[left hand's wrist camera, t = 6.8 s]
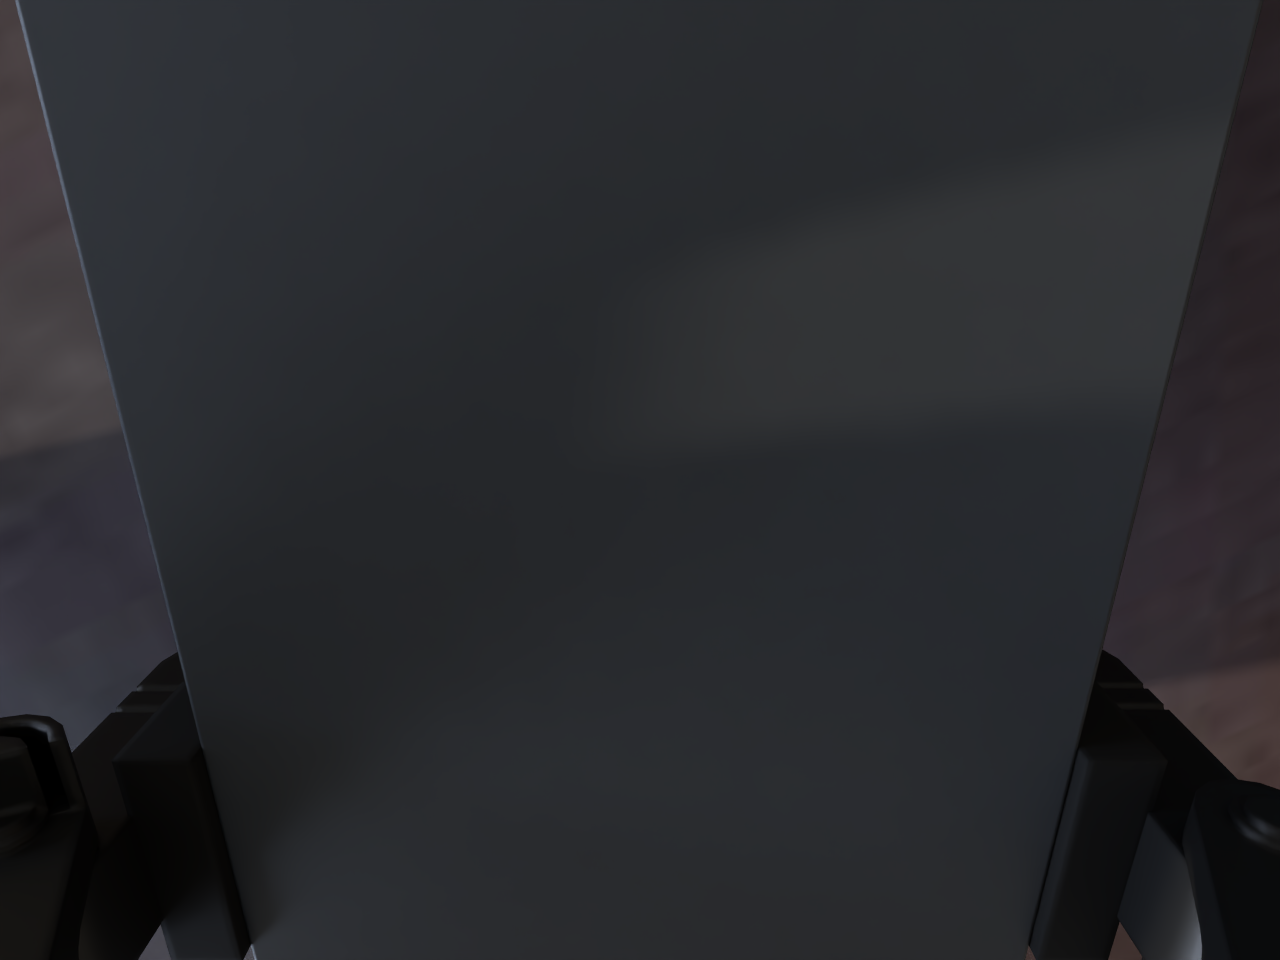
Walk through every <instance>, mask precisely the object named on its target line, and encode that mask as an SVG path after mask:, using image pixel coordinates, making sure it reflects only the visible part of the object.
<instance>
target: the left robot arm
mask: <svg viewBox="0 0 1280 960" xmlns="http://www.w3.org/2000/svg"><path fill="white" fill-rule="evenodd" d="M1163 705H1164V704H1163V703H1162V702H1161V701H1160V700H1159V699H1158V698H1157V697H1156V696H1155V695H1154V694H1153V693H1152V692H1151V691H1150V690H1149V689H1144V688H1143V683H1142V682H1141V681H1140V680H1139V679H1138V678H1137V677H1136V676H1135V675H1134V674H1133V673H1132V672H1131V671H1130V670H1129V669H1128V668H1127V667H1126V666H1125V665H1124V664H1123V663H1122V662H1121V661H1120V660H1119V659H1118V658H1116V657H1114V656H1113V655H1111V654H1109V653H1108V652H1106V651H1104V650H1102V651H1101V655H1100V660H1099V664H1098V668H1097V672H1096V676H1095V680H1094V684H1093V688H1092V692H1091V696H1090V700H1089V704H1088V708H1087V712H1086V716H1085V720H1084V724H1083V728H1082V732H1081V736H1080V740H1079V744H1078V748H1077V752H1076V756H1075V760H1074V764H1073V768H1072V772H1071V776H1070V780H1069V784H1068V788H1067V792H1066V796H1065V801H1064V805H1063V809H1062V813H1061V817H1060V821H1059V825H1058V829H1057V833H1056V837H1055V841H1054V845H1053V849H1052V853H1051V857H1050V861H1049V865H1048V869H1047V873H1046V877H1045V881H1044V885H1043V889H1042V893H1041V897H1040V901H1039V905H1038V909H1037V913H1036V917H1035V921H1034V925H1033V929H1032V933H1031V937H1030V941H1029V947H1030V949H1031V950H1032V952H1033V954H1034V956H1035V958H1036V960H1108V958H1109V955H1110V951H1111V948H1112V945H1113V941H1114V938H1115V935H1116V932H1117V928H1118V925H1119V922H1120V923H1121V924H1122V926H1123V927H1124V929H1125V930H1126V932H1127V933H1128V935H1129V937H1130V938H1131V940H1132V941H1133V943H1134V944H1135V946H1136V947H1137V949H1138V950H1139V952H1140V954H1141V955H1142V960H1280V790H1279V789H1276V788H1273V787H1270V786H1267V785H1264V784H1261V783H1257V782H1250V781H1244V780H1238V779H1237V778H1236V777H1235V776H1234V775H1233V774H1232V773H1231V772H1230V771H1229V770H1228V769H1227V768H1226V767H1225V766H1224V765H1223V764H1222V763H1221V762H1220V761H1219V760H1218V759H1217V758H1216V757H1215V756H1214V755H1213V754H1212V753H1211V752H1210V751H1209V750H1208V749H1207V748H1206V747H1205V746H1204V745H1203V744H1202V743H1201V742H1200V741H1199V740H1198V739H1197V738H1196V737H1195V736H1194V735H1193V734H1192V733H1191V732H1190V731H1189V730H1188V729H1187V728H1186V727H1185V726H1184V725H1183V724H1182V723H1181V722H1180V721H1179V720H1178V719H1177V718H1176V717H1175V716H1174V715H1173V714H1172V713H1171V712H1170V710H1164V707H1163ZM160 924H161V927H162V930H163V934H164V937H165V940H166V944H167V947H168V950H169V954H170V957H171V960H243V959H244V957H245V955H246V953H247V951H248V949H249V947H250V945H251V943H250V939H249V935H248V931H247V927H246V923H245V919H244V915H243V911H242V907H241V903H240V899H239V895H238V891H237V887H236V883H235V879H234V875H233V871H232V867H231V863H230V859H229V855H228V851H227V847H226V843H225V839H224V835H223V831H222V827H221V823H220V819H219V815H218V811H217V807H216V803H215V799H214V795H213V791H212V787H211V783H210V779H209V775H208V771H207V767H206V763H205V759H204V755H203V751H202V747H201V743H200V739H199V735H198V731H197V727H196V723H195V719H194V715H193V711H192V707H191V703H190V699H189V695H188V691H187V687H186V683H185V679H184V675H183V671H182V667H181V663H180V659H179V655H178V652H177V653H175V654H174V655H172V656H170V657H169V658H167V659H165V660H164V661H162V662H161V663H160V664H159V665H158V666H157V667H156V668H155V669H154V670H153V671H152V672H151V673H150V674H149V675H148V676H147V677H146V678H145V679H144V680H143V681H142V682H141V683H140V684H139V685H138V686H137V691H136V692H131V693H130V694H129V695H128V696H127V697H126V698H125V699H124V700H123V701H122V702H121V703H120V704H119V705H118V706H117V711H116V713H111V714H110V715H109V716H108V717H107V718H106V719H105V720H104V721H103V722H102V723H101V724H100V725H99V726H98V727H97V728H96V729H95V730H94V731H93V732H92V733H91V734H90V735H89V736H88V737H87V738H86V739H85V740H84V741H83V742H82V743H81V744H80V745H79V746H78V747H77V748H76V749H75V750H74V751H73V752H72V753H71V750H70V747H69V743H68V740H67V737H66V734H65V731H64V728H63V725H62V724H60V723H58V722H57V721H55V720H54V719H52V718H51V717H48V716H39V715H29V714H25V715H18V716H11V717H3V718H0V960H138V959H139V957H140V955H141V954H142V952H143V951H144V949H145V948H146V946H147V945H148V943H149V941H150V940H151V938H152V937H153V935H154V934H155V932H156V930H157V929H158V927H159V926H160Z"/></svg>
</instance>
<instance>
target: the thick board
mask: <svg viewBox="0 0 1280 960" xmlns="http://www.w3.org/2000/svg"><path fill="white" fill-rule="evenodd" d="M15 2H16V6H17V10H18V14H19V18H20V22H21V26H22V30H23V34H24V38H25V42H26V46H27V50H28V54H29V58H30V62H31V66H32V70H33V74H34V78H35V82H36V86H37V90H38V94H39V98H40V102H41V106H42V110H43V114H44V118H45V122H46V126H47V130H48V134H49V138H50V142H51V146H52V150H53V154H54V158H55V162H56V166H57V170H58V174H59V178H60V182H61V186H62V190H63V194H64V198H65V202H66V206H67V210H68V214H69V218H70V222H71V226H72V230H73V234H74V238H75V242H76V246H77V250H78V254H79V258H80V262H81V266H82V270H83V274H84V278H85V282H86V286H87V290H88V294H89V298H90V302H91V306H92V310H93V314H94V318H95V322H96V326H97V330H98V334H99V338H100V342H101V346H102V350H103V354H104V358H105V362H106V366H107V370H108V374H109V378H110V382H111V386H112V390H113V394H114V398H115V402H116V406H117V410H118V414H119V418H120V422H121V426H122V430H123V434H124V438H125V442H126V446H127V450H128V455H129V459H130V463H131V467H132V471H133V475H134V479H135V483H136V487H137V491H138V495H139V499H140V503H141V507H142V511H143V515H144V519H145V523H146V527H147V531H148V535H149V539H150V543H151V547H152V551H153V555H154V559H155V563H156V567H157V571H158V575H159V579H160V583H161V587H162V591H163V595H164V599H165V603H166V607H167V611H168V615H169V619H170V623H171V627H172V631H173V635H174V639H175V643H176V647H177V651H178V655H179V659H180V663H181V667H182V671H183V675H184V679H185V683H186V687H187V691H188V695H189V699H190V703H191V707H192V711H193V715H194V719H195V723H196V727H197V731H198V735H199V739H200V743H201V747H202V751H203V755H204V759H205V763H206V767H207V771H208V775H209V779H210V783H211V787H212V791H213V795H214V799H215V803H216V807H217V811H218V815H219V819H220V823H221V827H222V831H223V835H224V839H225V843H226V847H227V851H228V855H229V859H230V863H231V867H232V871H233V875H234V879H235V883H236V887H237V891H238V895H239V899H240V903H241V907H242V911H243V915H244V919H245V923H246V927H247V931H248V935H249V939H250V943H251V947H252V951H253V955H254V959H255V960H1025V958H1026V954H1027V950H1028V946H1029V941H1030V937H1031V933H1032V929H1033V925H1034V921H1035V917H1036V913H1037V909H1038V905H1039V901H1040V897H1041V893H1042V889H1043V885H1044V881H1045V877H1046V873H1047V869H1048V865H1049V861H1050V857H1051V853H1052V849H1053V845H1054V841H1055V837H1056V833H1057V829H1058V825H1059V821H1060V817H1061V813H1062V809H1063V805H1064V801H1065V796H1066V792H1067V788H1068V784H1069V780H1070V776H1071V772H1072V768H1073V764H1074V760H1075V756H1076V752H1077V748H1078V744H1079V740H1080V736H1081V732H1082V728H1083V724H1084V720H1085V716H1086V712H1087V708H1088V704H1089V700H1090V696H1091V692H1092V688H1093V684H1094V680H1095V676H1096V672H1097V668H1098V664H1099V660H1100V655H1101V651H1102V647H1103V643H1104V639H1105V635H1106V631H1107V627H1108V623H1109V619H1110V615H1111V611H1112V607H1113V603H1114V599H1115V595H1116V591H1117V587H1118V583H1119V579H1120V575H1121V571H1122V567H1123V563H1124V559H1125V555H1126V551H1127V547H1128V543H1129V539H1130V535H1131V531H1132V527H1133V523H1134V519H1135V515H1136V510H1137V506H1138V502H1139V498H1140V494H1141V490H1142V486H1143V482H1144V478H1145V474H1146V470H1147V466H1148V462H1149V458H1150V454H1151V450H1152V446H1153V442H1154V438H1155V434H1156V430H1157V426H1158V422H1159V418H1160V414H1161V410H1162V406H1163V402H1164V398H1165V394H1166V390H1167V386H1168V382H1169V378H1170V374H1171V370H1172V365H1173V361H1174V357H1175V353H1176V349H1177V345H1178V341H1179V337H1180V333H1181V329H1182V325H1183V321H1184V317H1185V313H1186V309H1187V305H1188V301H1189V297H1190V293H1191V289H1192V285H1193V281H1194V277H1195V273H1196V269H1197V265H1198V261H1199V257H1200V253H1201V249H1202V245H1203V241H1204V237H1205V233H1206V229H1207V224H1208V220H1209V216H1210V212H1211V208H1212V204H1213V200H1214V196H1215V192H1216V188H1217V184H1218V180H1219V176H1220V172H1221V168H1222V164H1223V160H1224V156H1225V152H1226V148H1227V144H1228V140H1229V136H1230V132H1231V128H1232V124H1233V120H1234V116H1235V112H1236V108H1237V104H1238V100H1239V96H1240V92H1241V88H1242V84H1243V79H1244V75H1245V71H1246V67H1247V63H1248V59H1249V55H1250V51H1251V47H1252V43H1253V39H1254V35H1255V31H1256V27H1257V23H1258V19H1259V15H1260V11H1261V7H1262V3H1263V0H15Z"/></svg>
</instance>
